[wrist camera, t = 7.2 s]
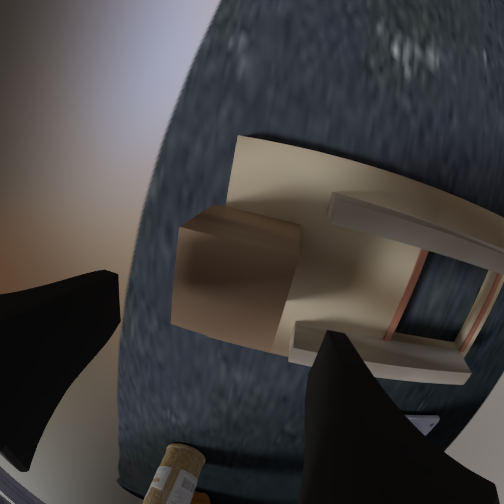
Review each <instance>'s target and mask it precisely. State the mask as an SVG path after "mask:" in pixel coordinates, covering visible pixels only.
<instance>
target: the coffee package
mask: <svg viewBox="0 0 504 504" xmlns="http://www.w3.org/2000/svg"><path fill="white" fill-rule="evenodd" d="M190 504H210V499H209V496H208V495H207V494H206V493H200V492H197V491H194V494H193V497H192V499H191V502H190Z"/></svg>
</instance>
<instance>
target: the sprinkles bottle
mask: <svg viewBox="0 0 504 504" xmlns="http://www.w3.org/2000/svg"><path fill="white" fill-rule="evenodd" d="M205 461H206V459H205V456H204V455H203V454H202V453H201V452H200V451H198V450H197V449H195V448H193V447H191V446H188V445H185V444H181V443H172V444H169V445H168V447H167V450H166V453H165V456H164V458H163V460H162V462H161V464H160V467H159V468H158V470H157V472H156V474H155V476H154V479H153V481H152V483H151V486H150V488H149V490H148V492H147V494H146V496H145V499H144V503H143V504H190V502H191V499H192V497H193V494H194V491H195V488H196V485H197V480H198V477H199V474H200V471H201V468H202V466H203V464H204V463H205Z"/></svg>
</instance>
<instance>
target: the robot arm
mask: <svg viewBox="0 0 504 504" xmlns="http://www.w3.org/2000/svg"><path fill="white" fill-rule="evenodd" d="M120 322H121V318H120V304H119V282H118V274H116V273H113V272H110V271H107V270H99V271H94V272H90V273H86V274H83V275H79V276H75V277H72V278H68V279H65V280H62V281H58V282H54V283H51V284H47V285H43V286H39V287H35V288H31V289H27V290H23V291H18V292H13V293H7V294H0V454H1V455H2V456H3V457H4V458H5V459H6V460H7V461H8V462H9V463H11V464H12V465H13V466H14V467H15V468H16V469H18V470H19V471H20V472H27V471H29V468H30V465H31V462H32V459H33V456H34V453H35V451H36V448H37V445H38V443H39V440H40V438H41V436H42V434H43V431H44V429H45V427H46V425H47V423H48V421H49V420H50V418H51V416H52V414H53V412H54V410H55V409H56V407H57V405H58V404H59V402H60V400H61V399H62V397H63V396H64V394H65V392H66V391H67V389H68V388H69V387H70V385H71V384H72V383H73V381H74V380H75V379H76V378H77V377H78V375H79V374H80V373H81V372H82V371H83V370H84V368H85V367H86V366H87V365H88V364H89V363H90V361H91V360H92V359H93V358H94V357H95V356H96V355H97V353H98V352H99V351H100V350H101V349H102V348H103V346H104V345H105V344H106V343H107V342H108V340H109V339H110V337H111V336H112V334H113V333H114V331H115V330H116V328H117V326H118V324H119V323H120ZM439 420H440V418H439V416H437V415H404V414H403V413H402V412H401V410H400V409H399V408H398V407H397V406H396V405H395V403H394V402H393V401H392V400H391V398H390V397H389V396H388V394H387V393H386V392H385V391H384V389H383V388H382V387H381V385H380V384H379V383H378V381H377V380H376V378H375V377H374V376H373V374H372V373H371V371H370V370H369V368H368V367H367V365H366V364H365V362H364V361H363V359H362V358H361V356H360V355H359V353H358V352H357V350H356V349H355V347H354V346H353V344H352V342H351V341H350V339H349V338H348V337H347V335H346V334H345V333H342V332H337V331H332V330H327V331H326V334H325V336H324V339H323V341H322V343H321V346H320V348H319V351H318V353H317V356H316V358H315V360H314V363H313V365H312V367H311V370H310V372H309V374H308V380H307V388H306V396H305V447H304V467H303V474H302V481H301V487H300V492H299V497H298V502H297V504H500V503H499V498H498V494H497V490H496V486H495V484H494V483H492V482H490V481H489V480H487V479H485V478H483V477H481V476H479V475H478V474H476V473H474V472H472V471H471V470H469V469H467V468H466V467H464V466H463V465H461V464H460V463H458V462H457V461H455V460H454V459H453V458H451V457H450V456H449V455H447V454H446V453H445V452H444V451H442V450H441V449H440V448H438V447H437V446H436V445H435V444H434V443H433V442H432V441H431V440H429V439H428V438H427V437H426V435H427V434H428V433H429V432H430V431H431V429H432V428H433V427H434V426H435V425H436V424H437V423H438V422H439ZM0 490H1V491H2V492H3V493H4V494H5V495H6V496H7V497H8V498H9V499H11V500H12V501H13V502H14V503H15V504H45V503H44V502H43V501H41V500H40V499H39V498H37V497H36V496H34V495H33V494H32V493H31V492H29V491H28V490H27V489H26V488H24V487H23V486H22V485H21V484H20V483H18V482H17V481H16V480H15V479H14V478H12V477H11V476H10V475H9V474H8V473H7V472H6V471H5V470H4V469H2V468H1V467H0ZM0 504H11V503H10V502H9V501H8V500H6V499H5V498H4V497H2V496H1V495H0Z"/></svg>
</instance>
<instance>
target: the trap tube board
mask: <svg viewBox="0 0 504 504" xmlns="http://www.w3.org/2000/svg"><path fill="white" fill-rule="evenodd" d="M226 207H229V208H234V209H238V210H242V211H247V212H251V213H255V214H259V215H263V216H268V217H272V218H276V219H280V220H284V221H288V222H292V223H296V224H300V225H301V230H300V250H299V259H298V263H297V266H296V270H295V273H294V277H293V280H292V284H291V287H290V290H289V294H288V297H287V300H286V304H285V307H284V310H283V314H282V317H281V320H280V323H279V327H278V330H277V333H276V336H275V339H274V343H273V346H272V349H271V352H269V353H274V354H278V355H282V356H287V357H289V359H288V362H292V363H296V364H301V365H306V366H311V367H312V365H313V363H314V360H315V358H316V356H317V353H318V351H319V348H320V346H321V343H322V341H323V339H324V336H325V334H326V331H327V330H332V331H337V332H342V333H345V334H346V335H347V337H348V338H349V339H350V341H351V342H352V344H353V346H354V347H355V349H356V350H357V352H358V353H359V355H360V356H361V358H362V359H363V361H364V362H365V364H366V365H367V367H368V368H369V370H370V371H371V373H372V374H373V376H374V377H379V378H387V379H395V380H405V381H415V382H427V383H440V384H459V385H464V383H465V382H466V381H467V379H468V378H469V376H470V375H471V371H470V369H469V368H468V366H467V364H466V362H465V360H464V357H465V355H466V354H467V352H468V351H469V349H470V347H471V346H472V344H473V342H474V340H475V339H476V337H477V335H478V333H479V332H480V330H481V328H482V326H483V324H484V322H485V320H486V318H487V317H488V315H489V313H490V311H491V309H492V306H493V304H494V302H495V300H496V298H497V296H498V294H499V291H500V289H501V287H502V285H503V282H504V218H503V217H501V216H499V215H497V214H495V213H493V212H491V211H489V210H486V209H484V208H482V207H480V206H478V205H475V204H473V203H471V202H469V201H466V200H464V199H462V198H459V197H457V196H454V195H452V194H449V193H447V192H444V191H442V190H439V189H437V188H434V187H431V186H429V185H426V184H423V183H421V182H418V181H415V180H412V179H409V178H406V177H404V176H401V175H398V174H395V173H392V172H388V171H385V170H382V169H379V168H376V167H372V166H369V165H366V164H362V163H359V162H355V161H352V160H348V159H345V158H341V157H337V156H333V155H330V154H326V153H322V152H317V151H313V150H309V149H305V148H300V147H296V146H291V145H287V144H282V143H277V142H272V141H267V140H262V139H256V138H250V137H245V136H239V135H238V139H237V144H236V149H235V155H234V160H233V166H232V172H231V177H230V183H229V189H228V195H227V201H226ZM428 251H431V252H435V253H438V254H441V255H444V256H448V257H451V258H454V259H457V260H460V261H463V262H466V263H470V264H473V265H476V266H479V267H482V268H485V269H488V273H487V275H486V277H485V280H484V282H483V285H482V287H481V289H480V291H479V294H478V296H477V298H476V300H475V302H474V304H473V306H472V308H471V310H470V313H469V314H468V316H467V318H466V320H465V322H464V324H463V326H462V328H461V330H460V332H459V333H458V335H457V337H456V339H455V341H454V342H450V341H444V340H437V339H431V338H425V337H419V336H413V335H407V334H402V333H396V332H394V331H395V329H396V327H397V325H398V323H399V321H400V319H401V317H402V314H403V312H404V310H405V308H406V306H407V303H408V301H409V299H410V297H411V294H412V292H413V290H414V287H415V285H416V282H417V280H418V277H419V275H420V272H421V270H422V267H423V265H424V262H425V259H426V257H427V254H428ZM207 336H208V335H207ZM208 337H211V336H208ZM212 338H214V337H212ZM215 339H218V338H215ZM219 340H221V339H219ZM222 341H225V340H222ZM226 342H228V341H226ZM230 343H232V342H230ZM233 344H235V343H233ZM237 345H239V344H237ZM241 346H243V345H241ZM245 347H247V346H245ZM249 348H250V347H249ZM253 349H254V348H253ZM257 350H258V349H257ZM261 351H262V350H261ZM265 352H266V351H265Z"/></svg>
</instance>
